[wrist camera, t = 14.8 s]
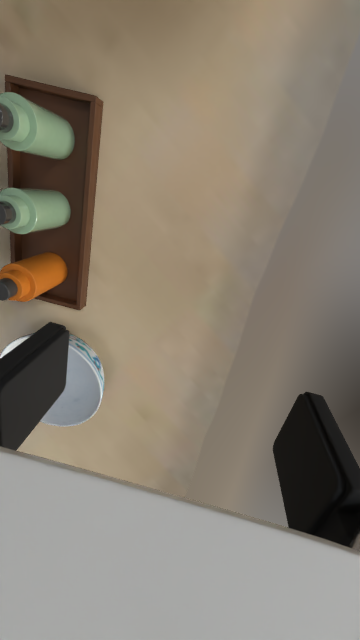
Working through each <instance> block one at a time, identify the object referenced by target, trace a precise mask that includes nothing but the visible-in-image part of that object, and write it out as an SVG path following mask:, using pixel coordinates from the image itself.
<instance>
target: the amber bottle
mask: <svg viewBox="0 0 360 640" xmlns="http://www.w3.org/2000/svg"><path fill="white" fill-rule="evenodd" d="M67 273H68V271H67V266H66V264H65V262H64V260H63V259H62V258H61V257H60V256H58V255H57V254H55V253H51V252H46V253H42V254H39V255H36V256H33V257H30V258H27V259H23V260H20V261H17V262H14V263H11V264H8V265H6V266H4V267H3V268H2V270H1V271H0V300H2V301H3V300H7V299H8V300H16V301H21V302H26V301H29V300H31V299H33V298H35V297H37V296H38V295H40V294H42V293H44V292H46V291H48V290H49V289H51V288H53V287H55V286H57V285H59V284H61V283H62V282H64V281H65V279H66V277H67Z"/></svg>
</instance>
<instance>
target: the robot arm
mask: <svg viewBox="0 0 360 640" xmlns="http://www.w3.org/2000/svg"><path fill="white" fill-rule="evenodd" d="M68 348H69V331H68V330H66V327H65V326H63V325H60V324H56V323H52V322H50V323H48V324H46V325H45V326H44V327H42V328H41V329H40V330H38V331H37V332H36V333H34V334H33V335H31V336H30V337H29V338H27V339H26V340H25V341H23V342H22V343H21V344H19V345H18V346H17V347H15V348H14V349H13V350H11V351H10V352H8V353H7V354H6V355H4V356H3V357H2V358H0V640H360V468H359V466H358V464H357V462H356V460H355V459H354V457H353V454H352V453H351V451H350V449H349V447H348V445H347V443H346V441H345V439H344V437H343V435H342V433H341V431H340V429H339V427H338V425H337V423H336V421H335V419H334V417H333V415H332V413H331V412H330V410H329V407H328V405H327V404H326V402H325V400H324V398H323V396H321V395H317V394H314V393H309V392H305V393H304V394H300V395H299V396H298V398H297V400H296V401H295V403H294V405H293V407H292V409H291V411H290V413H289V415H288V417H287V419H286V421H285V423H284V424H283V426H282V428H281V430H280V432H279V434H278V436H277V438H276V440H275V442H274V445H273V453H274V458H275V463H276V468H277V472H278V477H279V482H280V487H281V492H282V497H283V502H284V507H285V511H286V516H287V521H288V526H289V528H288V527H284V526H281V525H278V524H274V523H271V522H267V521H264V520H260V519H257V518H254V517H250V516H247V515H243V514H240V513H236V512H233V511H230V510H226V509H223V508H219V507H216V506H212V505H209V504H206V503H202V502H199V501H195V500H191V499H188V498H185V497H181V496H178V495H174V494H171V493H167V492H164V491H160V490H157V489H153V488H149V487H146V486H142V485H139V484H135V483H132V482H128V481H125V480H121V479H118V478H114V477H111V476H107V475H103V474H100V473H96V472H93V471H89V470H85V469H82V468H78V467H75V466H71V465H67V464H64V463H60V462H57V461H53V460H49V459H46V458H42V457H38V456H35V455H31V454H27V453H23V452H19V451H16V450H17V449H18V448H19V446H20V445H21V444H22V443H23V441H24V440H25V439H26V438H27V436H28V435H29V434H30V433H31V431H32V430H33V429H34V428H35V426H36V425H37V424H38V423H39V421H40V420H41V419H42V418H43V416H44V415H45V414H46V413H47V412H48V410H49V409H50V408H51V407H52V405H53V404H54V403H55V402H56V400H57V399H58V398H59V397H60V395H61V394H62V393H63V391H64V389H65V386H66V376H67V362H68Z"/></svg>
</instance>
